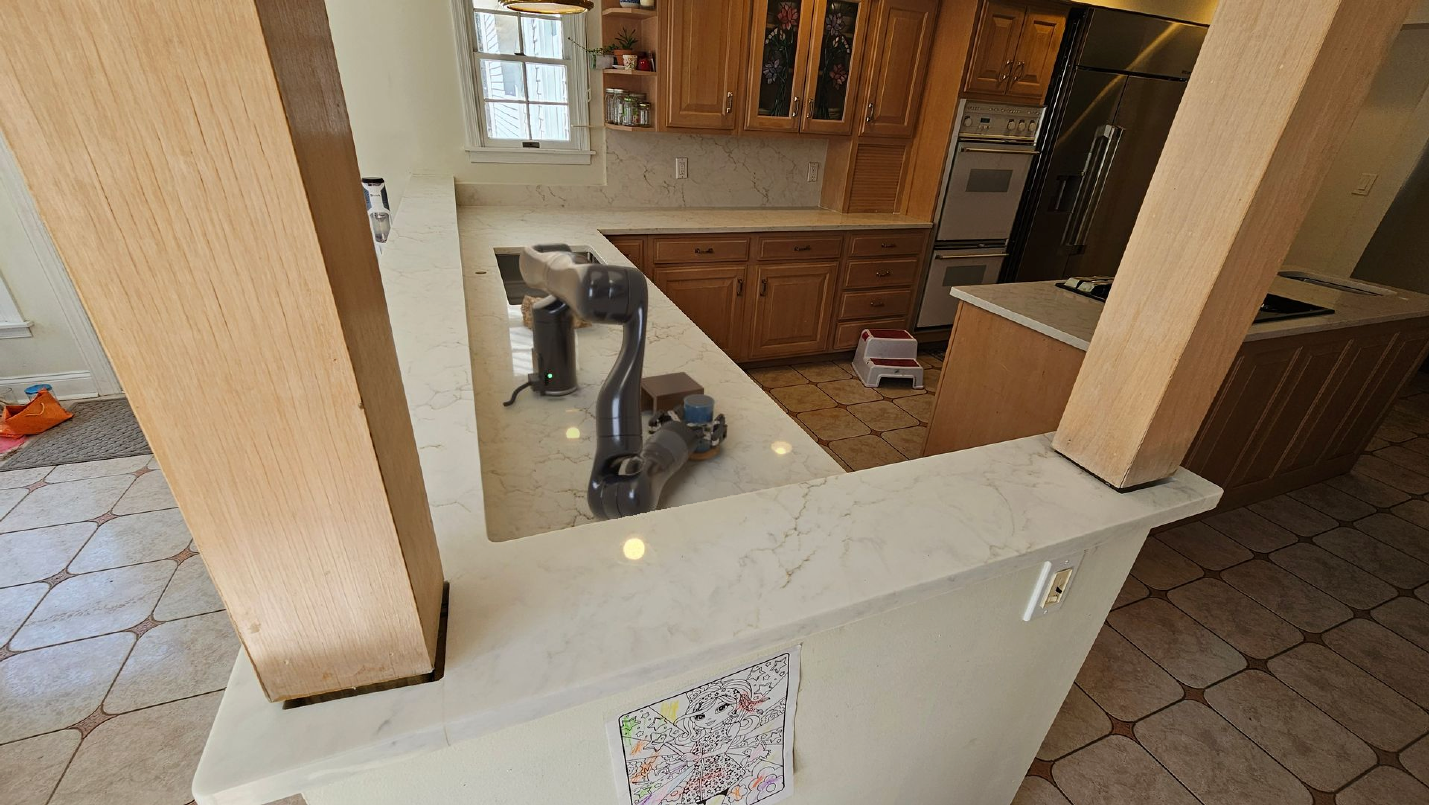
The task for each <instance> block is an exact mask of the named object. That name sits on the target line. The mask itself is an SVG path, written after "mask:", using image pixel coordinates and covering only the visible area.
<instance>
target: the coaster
mask: <svg viewBox="0 0 1429 805" xmlns="http://www.w3.org/2000/svg"><path fill="white" fill-rule="evenodd" d="M719 451H720V445H719V446H718V447H717V448H716V449H710V450H709V451H707V452H704V453H692V455H691V456H690V457H689V458H688V459H689V460H698V461H699V460H706V459H709V458H713V457H714V456H716V455H717V454H718V453H719Z"/></svg>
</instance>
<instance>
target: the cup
mask: <svg viewBox="0 0 1429 805" xmlns="http://www.w3.org/2000/svg"><path fill="white" fill-rule="evenodd" d="M715 403H716V400H715V398H713V397H712V396H710V395H706V394H704V395H702V394H694V395H689V396H687V397H685V398H684V406H683V420H685V421H688V422H694V423H697V422H702V421H707V422H712V421H714V420H715ZM701 429H702V431H703V427H701ZM712 430H713V427H711V428H710V431H712ZM710 449H711V448H710V444H707V443H702V444H700V445H698V446H697V447H696V449H695V451H694V452H693V453H704V452H707V451H709V450H710Z"/></svg>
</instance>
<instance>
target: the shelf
mask: <svg viewBox="0 0 1429 805" xmlns="http://www.w3.org/2000/svg"><path fill="white" fill-rule="evenodd" d="M694 394H702V395H705V387H703V386H702V385H701V384H699V383H698V382H697V381H696V380H695V379H694V378H692V377H691V376H690V375H689V374H688V373H686V372H685V371H679V372H672V373H665V374H659V375H653V376H645V377H642V384H641V413H642V412H646V411H647V412H648V411H653V415H652V417H653V416H654V415H655V414H656V413H657V412H658V411H659V410H663V411H664V413H668V411H672V410H673V409H674V408H675V407H677V406H679V405H683V406H684V398H685V397H687V396H689V395H694ZM679 419H680V420H683V416H682V417H681V418H679ZM664 423H666V422H664ZM664 423H663V424H664ZM663 424H662V425H663Z"/></svg>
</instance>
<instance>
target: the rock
mask: <svg viewBox="0 0 1429 805" xmlns="http://www.w3.org/2000/svg"><path fill="white" fill-rule="evenodd" d="M543 298H544V297H539V296H538V297H537V296H536V297H533V296H530V295H524V297H523V300H522V304H521V306H520V311H521V314H522V324H523V325H524V326H525V327H526V328H528V329H529V330H531V331H532V318H531V306H532V305H533V304H534V303H535V302H537V301H539V300H541V299H543ZM574 325H575V330H576V329H583V328H589V327H592V326H593V323H588V322H585V321H583V320H581V319H580V318H579V317H578V316H576V314H575V313H574Z"/></svg>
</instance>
